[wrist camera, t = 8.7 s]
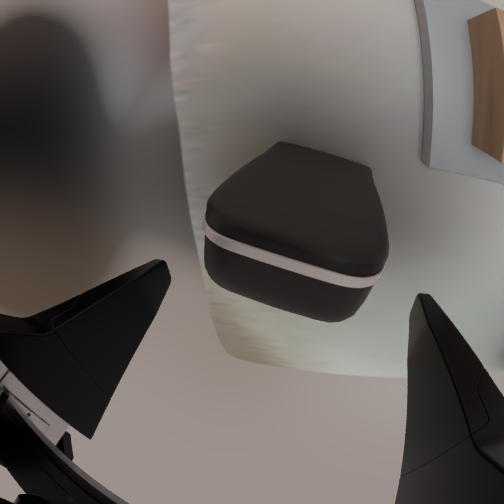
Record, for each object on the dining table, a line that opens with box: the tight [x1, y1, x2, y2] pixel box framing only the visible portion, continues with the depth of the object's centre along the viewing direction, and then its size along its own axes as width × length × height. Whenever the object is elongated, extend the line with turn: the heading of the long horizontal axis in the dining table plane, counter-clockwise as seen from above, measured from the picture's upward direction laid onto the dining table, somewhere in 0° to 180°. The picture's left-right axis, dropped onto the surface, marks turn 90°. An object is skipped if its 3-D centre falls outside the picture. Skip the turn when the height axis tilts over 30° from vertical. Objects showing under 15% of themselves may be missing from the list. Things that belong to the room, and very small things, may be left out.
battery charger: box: [203, 142, 389, 322], centre depth 13 cm, size 7×4×11 cm, turn 81°
